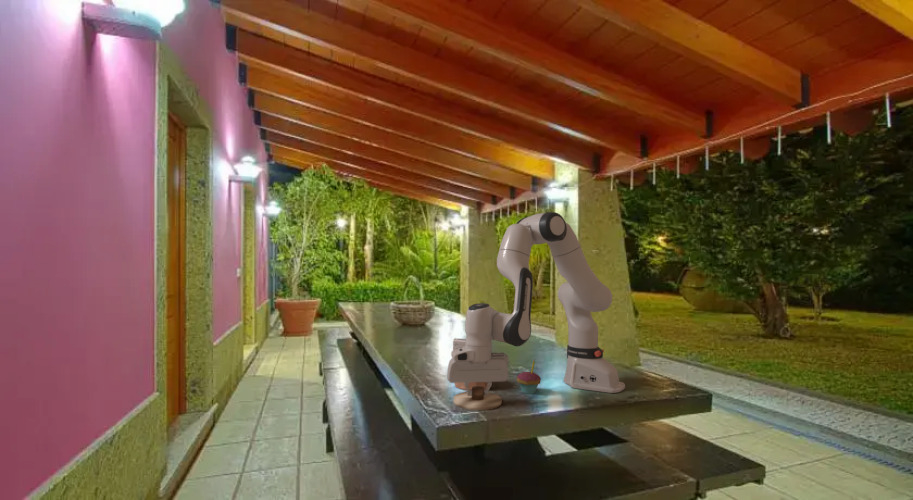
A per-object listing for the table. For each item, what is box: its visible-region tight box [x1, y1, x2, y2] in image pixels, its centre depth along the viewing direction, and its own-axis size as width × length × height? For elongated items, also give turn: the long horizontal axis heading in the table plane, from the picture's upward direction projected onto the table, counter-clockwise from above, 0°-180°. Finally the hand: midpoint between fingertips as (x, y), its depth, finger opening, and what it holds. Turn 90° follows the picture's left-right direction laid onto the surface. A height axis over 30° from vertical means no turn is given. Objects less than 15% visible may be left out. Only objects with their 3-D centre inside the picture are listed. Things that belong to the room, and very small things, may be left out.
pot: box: [454, 382, 487, 391], centre depth 171 cm, size 13×13×10 cm
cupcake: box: [516, 358, 542, 395], centre depth 165 cm, size 9×8×12 cm
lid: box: [452, 386, 503, 411], centre depth 152 cm, size 16×16×5 cm
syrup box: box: [452, 337, 466, 351], centre depth 186 cm, size 6×6×14 cm
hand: (477, 395), depth 152 cm, fingers closed on lid, 4 cm apart
